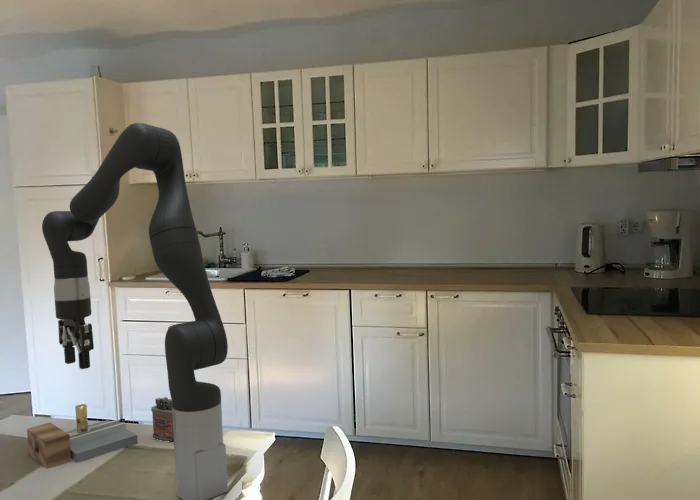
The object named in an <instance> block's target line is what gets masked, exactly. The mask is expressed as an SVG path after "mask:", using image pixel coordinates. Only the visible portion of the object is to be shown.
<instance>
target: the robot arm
mask: <svg viewBox="0 0 700 500" xmlns="http://www.w3.org/2000/svg"><path fill="white" fill-rule="evenodd" d="M132 169H138V170H144V171H150V172H152V173H153V174H154V177H155V181H156V185H157V189H158V198H157V199H158V200H157V204H156V206H155V208H154V211H153V214H152V216H151V219H150V222H149V226H148V236H149V242H150V245H151V252H152V254H153V255H152V256H153V259H154V262H155V264H156V266H157V267H158V269H159V270H160V272H161V273H162V274H163V275H164V277H166V279H167V280H169V282H171V284H173V286H175V288H177V290H179V292H180V294H182V296H184V298H185V300H186V301H187V303H188V304H189V306H190V309H191V312H192V314H193V317H194V318H193V319H194V320H193V321H186V322H182V323H176V324H173V325H171V326H169V327H168V329H167V330H166V333H165V337H164V338H165V339H164V353H165V362H166V371H167V377H168V378H167V381H168V383H167V384H168V390H169V393H170V399H172V414H173V434H174V443H173V448H174V449H173V451H174V466H175V467H174V468H175V483H176V484H175V485H176V495H177V497H178V498H179V499H181V500H211V499H213V498H216V497H217V496H220V495H222V494H224V493H226V492H228V489H229V488H228V471H227V453H226V452H227V447H226V444H225V443H224V435H223V434H224V432H223V430H224V429H223V410H222V409H223V408H222V392H221V388H220V387H219V386H218V385H216V384H214V383H211V382H204V381H197V380H196V379H197V378H196V374H195V371H197V370H201V369H205V368H210V367H213V366H217V365H220V364H222V363H224V361H225V360H226V359H227V356H228V349H229V348H228V347H229V344H228V338H227V333H226V329H225V326H224V323H223V321H222V317H221V315H220V312H219V309H218V306H217V303H216V300H215V298H214V294H213V291H212V288H211V285H210V282H209V278H208V274H207V271H206V265H205V262H204V258H203V257H204V256H203V253H202V248H201V243H200V239H199V235H198V231H197V227H196V225H195V221H194V217H193V213H192V210H191V204H190V203H191V202H190V199H189V195H188V189H187V184H186V178H185V169H184V163H183V155H182V149H181V146H180V142H179V140H178V138H177V136H176V134H174V132H172V131H171V130H170V129H166V128H162V127H159V126H155V125H152V124H148V123H144V122H143V123H142V122H134V123H131V124H128V125H127V126H126V127H125V128H124V129H123V130H122V132H121V133H120V134H119V136H118V137H117V139H116V140H115V142H114V143H113V145H112V146H111V148H110V150H109V151H108V153H106V156H105V158H104V159H103V161H102V162H101V165H100V166H99V167H98V169H97V170H96V172H95V174H94V175H93V176H92V177H91V178H90V179H89V180H88V182H86V184H85V185H84V186H83V187H82V188H81V189H80V190H79V191H78V192H77V193H76V194H75V195H74V196H73V197H72V199H71V200H70V203H69V210H56V211H55V210H54V211H49V212H48V213H47V214H46V215H45V216H44V218H43V220H42V223H41V229H42V235H43V237H44V240H45V242H46V243H45V244H46V245H47V248H48V251H49V253H50V256H51V257H50V258H51V259H52V263H53V275H54V276H53V277H54V283H53V284H54V285H53V292H54V293H53V295H54V309H55V318H56V319H58V321H57V322H58V324H57V325H58V343H59V345H61V347H62V349H63V353H64V363H65V364H67V365H69V364H74V363H76V349H77V352H78V353H77V354H78V357H77V358H78V368H79V369H81V370H85V369H89V368H90V367H91V360H90V359H91V358H90V352H91V351H92V350H94V348H95V347H94V345H95V344H94V335H93V325H92V323H91V322H90V323H86V320H85V319H86V317H90V316H91V315H92V301H91V300H92V299H91V298H92V297H91V287H90V281H89V277H88V274H89V273H88V259H87V256H86V254H85V253H84V252H82V251H78V250H73V249H72V248H71V246H70V244H69V242H79V241H83V240H86V239H88V238H89V237H90V236H91V235H93V233H94V231H95V228H96V227H97V225H98V223H99V221H100V219H101V217H102V216H104V214H106V213H107V212H108V211H109V210H110V209H111V208H112V207H113V206H114V205H115V203H116V202H117V200H118V198H119V194H120V184H121V178H122V177H124V175H126V173H128V172H129V171H131V170H132ZM75 348H76V349H75Z"/></svg>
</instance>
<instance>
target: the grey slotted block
mask: <svg viewBox="0 0 700 500" xmlns="http://www.w3.org/2000/svg"><path fill="white" fill-rule="evenodd" d="M88 429H90V430H91V432H89V433H86V434H83V435H79V436H76V437H72V438H70V450H71V460H73V461H74V462H75V463H80V462H83V461H86V460H90V459H93V458H96V457H99V456H103V455H106V454H108V453H111V452H114V451H117V450H120V449H123V448H127V447H129V446H133V445H136V444H139V443H138V435H137V434H136V433H135V432H132V431H130V430H128V429H127V426H126V422H121V423H120V419H114V420H109V419H107V420H102V421H100V422H95V423H93V424H88ZM76 431H77V428H74V429H72V430H68V431H65V432H66V433H68V434H69V433H72V432H76Z"/></svg>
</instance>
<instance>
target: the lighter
mask: <svg viewBox="0 0 700 500" xmlns="http://www.w3.org/2000/svg"><path fill="white" fill-rule="evenodd" d="M150 408H151V412H152V413H151V414H152V425H153V426H152V427H153V428H152V430H153V434H152V438H155V439H154V440H156V439H158V440H157V441H159V440H162V441H161V442H163V441H169V442H168V443H171V442H174V434H173V414H172V399H171V398H168V396H164V397H156V398H155V405H154V406H151V407H150Z"/></svg>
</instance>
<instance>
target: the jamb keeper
mask: <svg viewBox="0 0 700 500" xmlns="http://www.w3.org/2000/svg"><path fill="white" fill-rule="evenodd" d="M26 432H27V447H28V455H29V456H30V457H32V459H35V460H36V461H37V462H38V463H39V464H41V465H42V466H43V467H44V468H46V469H51V468H54V467H56V466H57V467H58V466H60V465H63V464H66V463H70V462H72V459H71V450H70V436H69V434H68V433H66V432H67V431H65V430H63V429H62V428H60V427H58V426H56V425H55V424H54V423H52V422H47V423H43V424H39V425H35V426H32V427H28V428H26Z"/></svg>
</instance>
